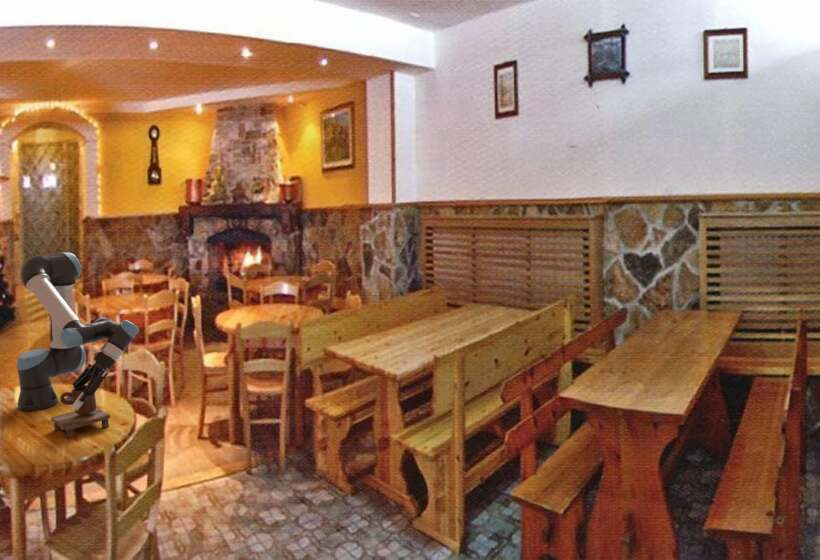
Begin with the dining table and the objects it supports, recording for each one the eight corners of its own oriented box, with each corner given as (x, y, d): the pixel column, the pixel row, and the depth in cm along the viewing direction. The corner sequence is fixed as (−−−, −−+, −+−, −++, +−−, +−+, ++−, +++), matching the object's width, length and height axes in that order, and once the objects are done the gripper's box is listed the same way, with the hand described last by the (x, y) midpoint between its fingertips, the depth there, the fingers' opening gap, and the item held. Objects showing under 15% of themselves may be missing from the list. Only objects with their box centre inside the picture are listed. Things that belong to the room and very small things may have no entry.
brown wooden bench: (52, 429, 251) (51, 417, 251) (94, 417, 263) (93, 405, 262) (67, 439, 242) (66, 427, 241) (111, 426, 253) (109, 414, 252)
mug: (63, 419, 245) (60, 395, 244) (61, 413, 251) (58, 390, 250) (98, 411, 252) (95, 388, 250) (95, 406, 258) (92, 383, 256)
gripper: (127, 365, 253) (88, 417, 244) (104, 356, 266) (67, 404, 257) (112, 355, 248) (72, 407, 239) (89, 346, 262) (51, 395, 253)
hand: (69, 406), depth 248 cm, fingers closed on mug, 7 cm apart
